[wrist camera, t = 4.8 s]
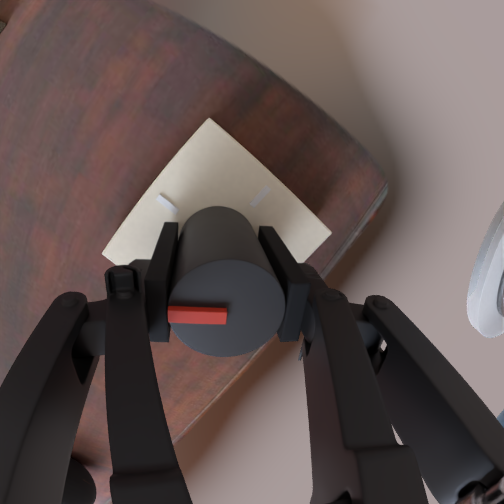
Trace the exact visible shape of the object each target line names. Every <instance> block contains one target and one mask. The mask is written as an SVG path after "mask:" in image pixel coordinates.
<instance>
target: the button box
mask: <svg viewBox="0 0 504 504" xmlns="http://www.w3.org/2000/svg"><path fill="white" fill-rule="evenodd" d="M5 26H6V23H4V22H3V21H1V20H0V33H1V31H2V30H3V28H4V27H5Z"/></svg>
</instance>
